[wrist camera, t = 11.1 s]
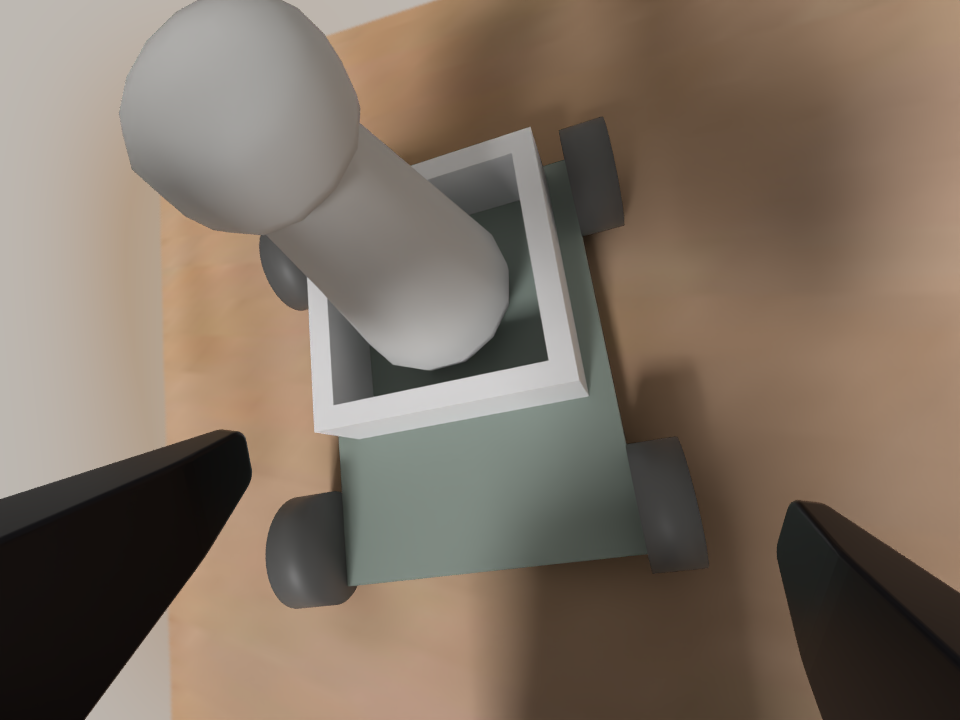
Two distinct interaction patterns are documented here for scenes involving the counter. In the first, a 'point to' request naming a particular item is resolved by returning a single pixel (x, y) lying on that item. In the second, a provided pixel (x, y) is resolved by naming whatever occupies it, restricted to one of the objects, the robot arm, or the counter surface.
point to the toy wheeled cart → (486, 408)
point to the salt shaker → (309, 177)
